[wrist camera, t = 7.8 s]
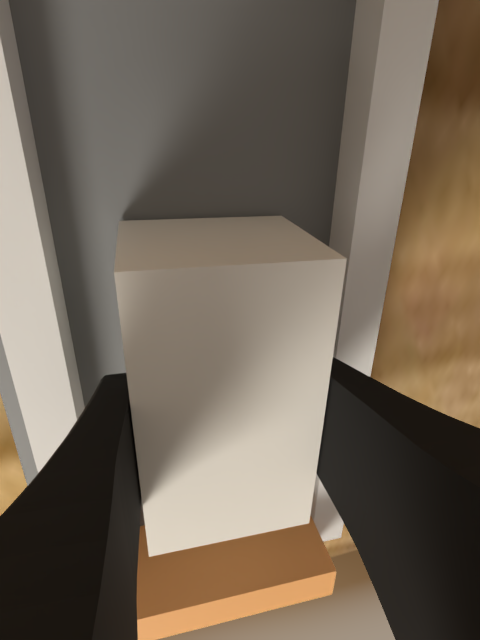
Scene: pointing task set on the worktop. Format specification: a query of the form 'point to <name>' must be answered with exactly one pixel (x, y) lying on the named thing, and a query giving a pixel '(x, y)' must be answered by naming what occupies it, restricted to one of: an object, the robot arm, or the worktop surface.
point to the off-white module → (225, 371)
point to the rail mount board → (193, 211)
